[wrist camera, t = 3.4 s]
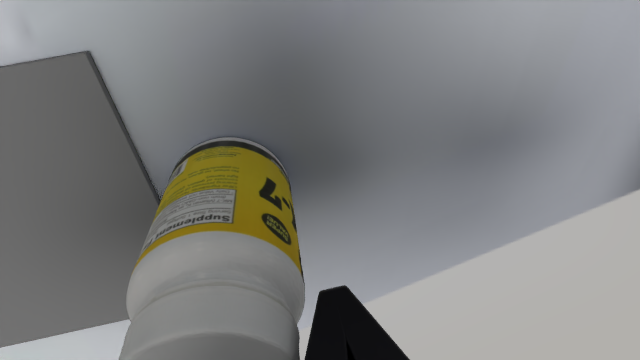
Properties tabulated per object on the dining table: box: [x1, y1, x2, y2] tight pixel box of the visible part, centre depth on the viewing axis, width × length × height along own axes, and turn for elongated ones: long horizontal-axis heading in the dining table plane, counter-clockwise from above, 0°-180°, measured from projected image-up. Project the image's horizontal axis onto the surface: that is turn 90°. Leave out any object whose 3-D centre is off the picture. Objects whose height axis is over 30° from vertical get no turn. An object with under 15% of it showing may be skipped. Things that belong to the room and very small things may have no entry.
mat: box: [0, 51, 160, 348], centre depth 14 cm, size 12×12×1 cm
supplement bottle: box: [119, 137, 305, 360], centre depth 11 cm, size 5×5×8 cm
